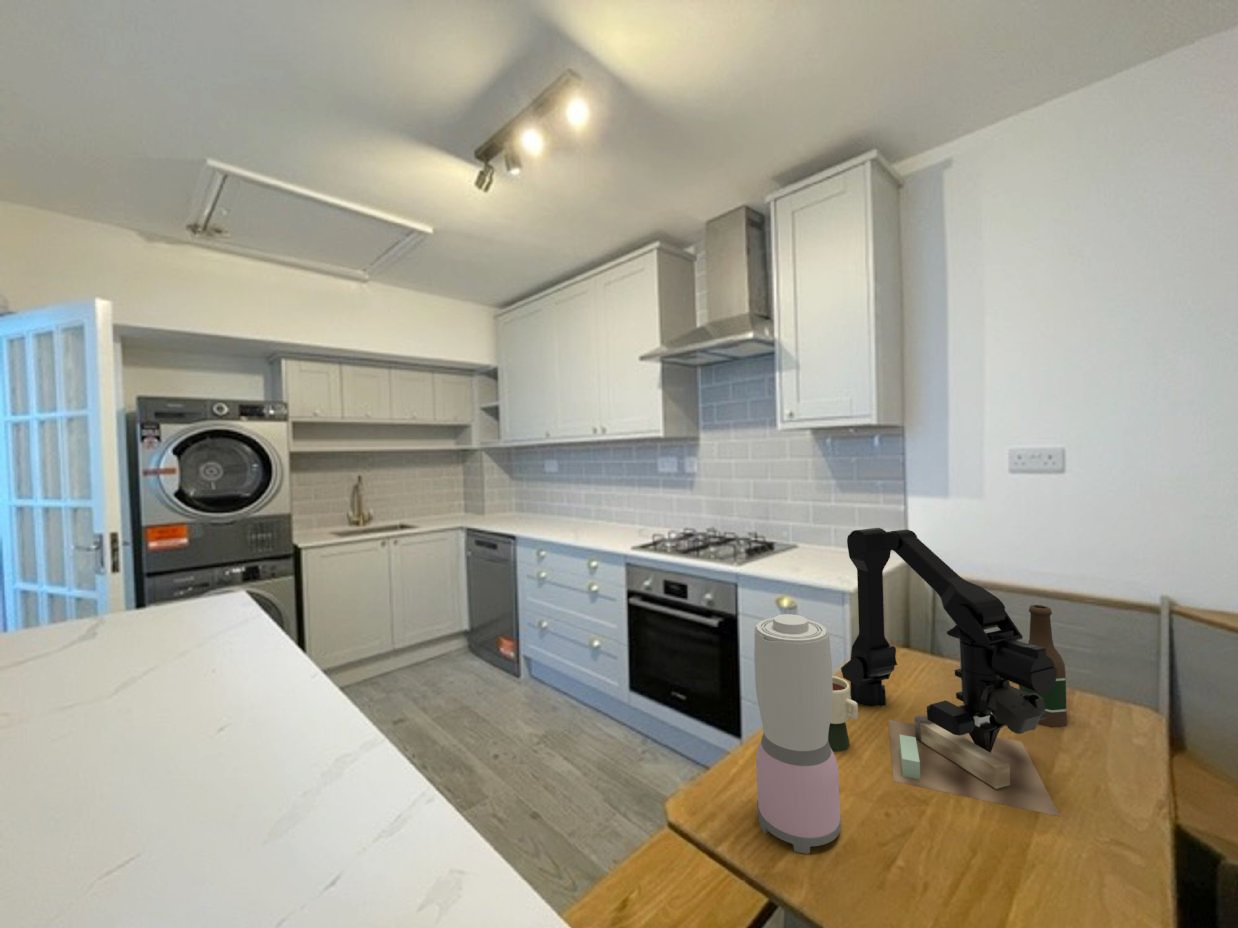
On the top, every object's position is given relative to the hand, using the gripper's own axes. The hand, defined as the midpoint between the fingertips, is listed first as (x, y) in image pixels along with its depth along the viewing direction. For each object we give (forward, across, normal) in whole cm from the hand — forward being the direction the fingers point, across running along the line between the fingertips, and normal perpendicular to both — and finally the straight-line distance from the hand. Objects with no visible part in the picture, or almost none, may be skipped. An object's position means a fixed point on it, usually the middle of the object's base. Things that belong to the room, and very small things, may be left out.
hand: (984, 756), depth 89 cm
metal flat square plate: (+3, -2, +3) cm, 5 cm away
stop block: (+1, -12, +5) cm, 13 cm away
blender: (+2, -36, +2) cm, 36 cm away
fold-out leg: (+1, -3, +3) cm, 4 cm away
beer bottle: (+4, +25, +8) cm, 26 cm away
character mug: (+3, -19, +15) cm, 25 cm away
